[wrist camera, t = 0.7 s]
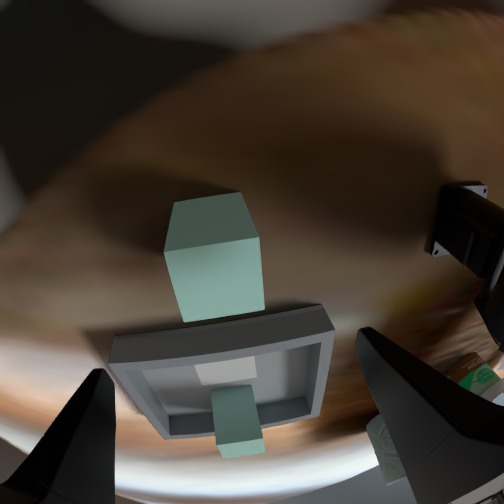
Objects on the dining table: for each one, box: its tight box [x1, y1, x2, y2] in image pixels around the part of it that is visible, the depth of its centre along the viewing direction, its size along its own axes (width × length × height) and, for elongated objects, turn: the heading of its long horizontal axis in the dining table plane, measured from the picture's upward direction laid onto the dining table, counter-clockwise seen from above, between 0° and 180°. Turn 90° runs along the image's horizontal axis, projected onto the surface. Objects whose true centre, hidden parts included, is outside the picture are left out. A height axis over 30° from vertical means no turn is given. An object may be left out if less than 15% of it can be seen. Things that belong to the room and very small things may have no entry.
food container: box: [444, 352, 504, 402], centre depth 33 cm, size 12×6×10 cm, turn 105°
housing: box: [108, 304, 335, 459], centre depth 23 cm, size 17×14×6 cm
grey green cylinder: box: [366, 414, 407, 485], centre depth 35 cm, size 10×10×12 cm
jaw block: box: [164, 192, 265, 322], centre depth 16 cm, size 4×4×6 cm
